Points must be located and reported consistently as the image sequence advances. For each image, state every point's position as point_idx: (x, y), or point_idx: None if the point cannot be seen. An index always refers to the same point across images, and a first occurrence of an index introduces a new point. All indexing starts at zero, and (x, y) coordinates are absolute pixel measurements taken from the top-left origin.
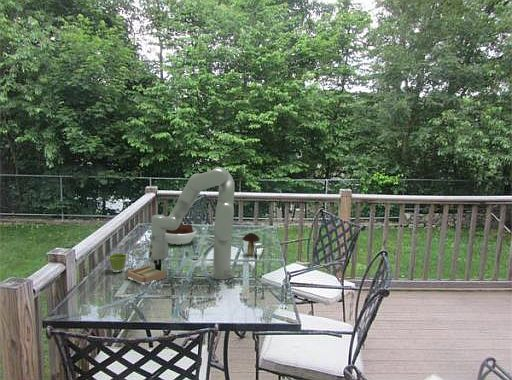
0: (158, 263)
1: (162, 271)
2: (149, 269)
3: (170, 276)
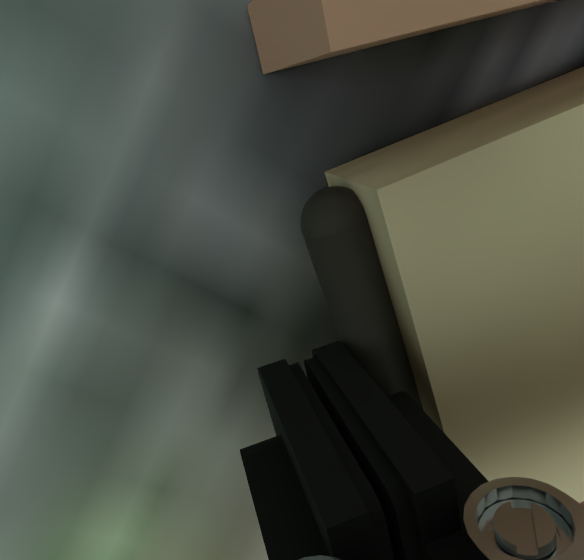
0: (501, 528)
1: (434, 6)
2: (558, 455)
3: (46, 92)
